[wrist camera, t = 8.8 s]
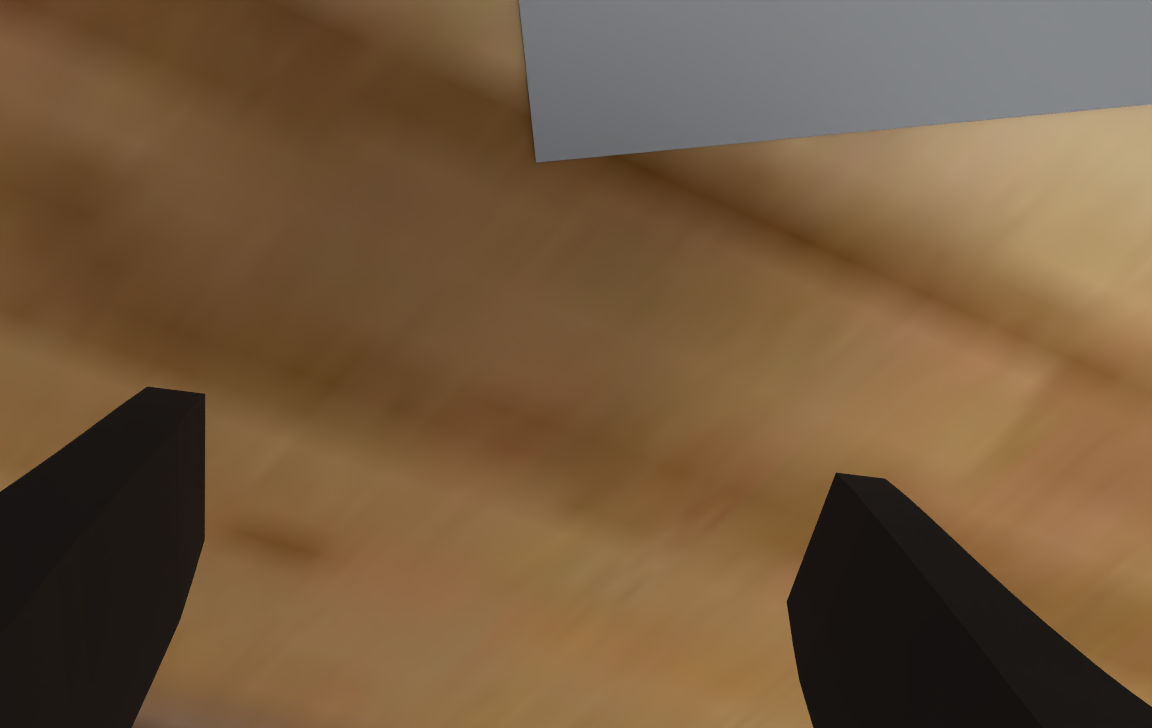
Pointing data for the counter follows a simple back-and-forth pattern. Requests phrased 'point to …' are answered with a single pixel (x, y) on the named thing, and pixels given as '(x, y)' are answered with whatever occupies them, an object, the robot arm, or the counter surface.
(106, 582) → the robot arm
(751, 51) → the lid
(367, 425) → the counter surface
